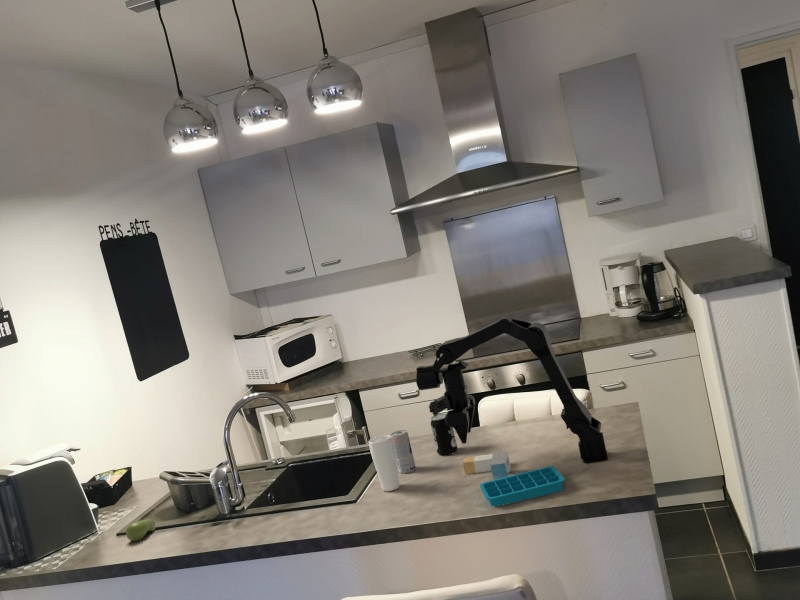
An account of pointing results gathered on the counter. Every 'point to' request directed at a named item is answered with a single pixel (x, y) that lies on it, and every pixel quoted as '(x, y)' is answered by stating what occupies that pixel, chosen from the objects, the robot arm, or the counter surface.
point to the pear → (139, 529)
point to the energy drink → (403, 451)
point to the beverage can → (443, 435)
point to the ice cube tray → (523, 486)
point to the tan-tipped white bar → (477, 464)
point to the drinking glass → (385, 461)
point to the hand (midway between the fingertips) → (466, 437)
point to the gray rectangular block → (500, 465)
